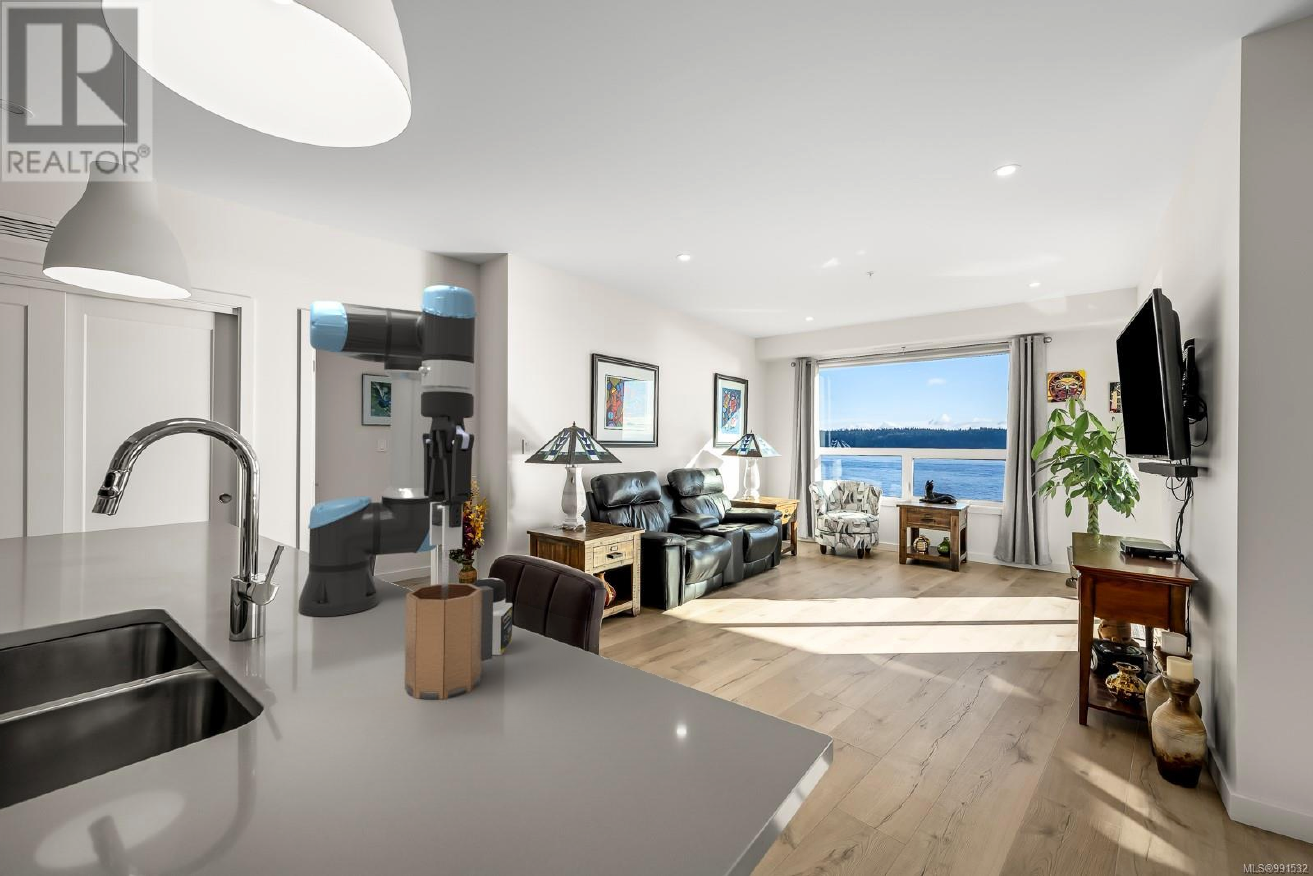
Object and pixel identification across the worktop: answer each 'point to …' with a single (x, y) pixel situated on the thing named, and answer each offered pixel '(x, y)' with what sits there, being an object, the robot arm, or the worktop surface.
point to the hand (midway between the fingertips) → (445, 546)
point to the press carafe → (447, 639)
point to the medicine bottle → (499, 614)
